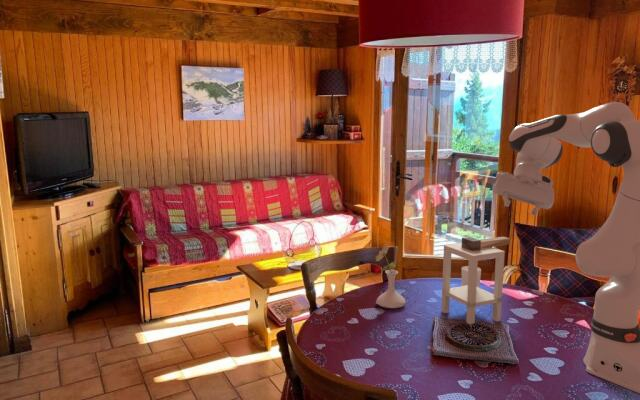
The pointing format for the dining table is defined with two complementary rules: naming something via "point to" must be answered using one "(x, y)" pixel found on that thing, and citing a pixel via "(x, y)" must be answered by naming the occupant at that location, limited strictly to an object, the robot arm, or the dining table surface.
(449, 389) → the dining table surface
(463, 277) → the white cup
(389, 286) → the flower in vase
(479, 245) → the mallet
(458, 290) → the shelf stand
